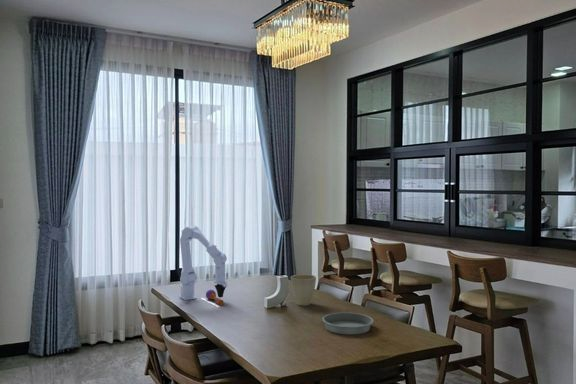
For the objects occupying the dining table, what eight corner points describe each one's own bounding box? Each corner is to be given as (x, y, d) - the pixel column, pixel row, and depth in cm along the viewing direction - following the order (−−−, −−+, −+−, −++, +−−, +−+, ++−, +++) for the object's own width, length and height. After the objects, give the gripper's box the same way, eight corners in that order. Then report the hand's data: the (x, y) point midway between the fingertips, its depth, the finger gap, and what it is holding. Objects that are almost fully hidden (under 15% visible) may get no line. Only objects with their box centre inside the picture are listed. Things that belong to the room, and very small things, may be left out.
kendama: (215, 299, 277) (203, 290, 294) (217, 309, 278) (205, 299, 295) (224, 296, 280) (212, 287, 297) (226, 305, 281) (214, 296, 298)
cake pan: (333, 338, 220) (333, 328, 220) (315, 323, 244) (315, 314, 244) (382, 333, 227) (382, 323, 226) (360, 319, 250) (360, 310, 250)
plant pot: (310, 300, 291) (310, 273, 291) (320, 306, 277) (320, 278, 277) (287, 302, 286) (287, 275, 286) (295, 308, 272) (295, 279, 272)
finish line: (200, 298, 296) (200, 298, 296) (203, 298, 297) (203, 297, 297) (217, 307, 274) (217, 307, 274) (221, 306, 275) (221, 306, 275)
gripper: (231, 275, 285) (231, 298, 285) (221, 271, 297) (221, 293, 298) (220, 276, 281) (220, 300, 282) (210, 273, 294) (210, 295, 294)
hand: (220, 297), depth 289 cm, fingers closed
